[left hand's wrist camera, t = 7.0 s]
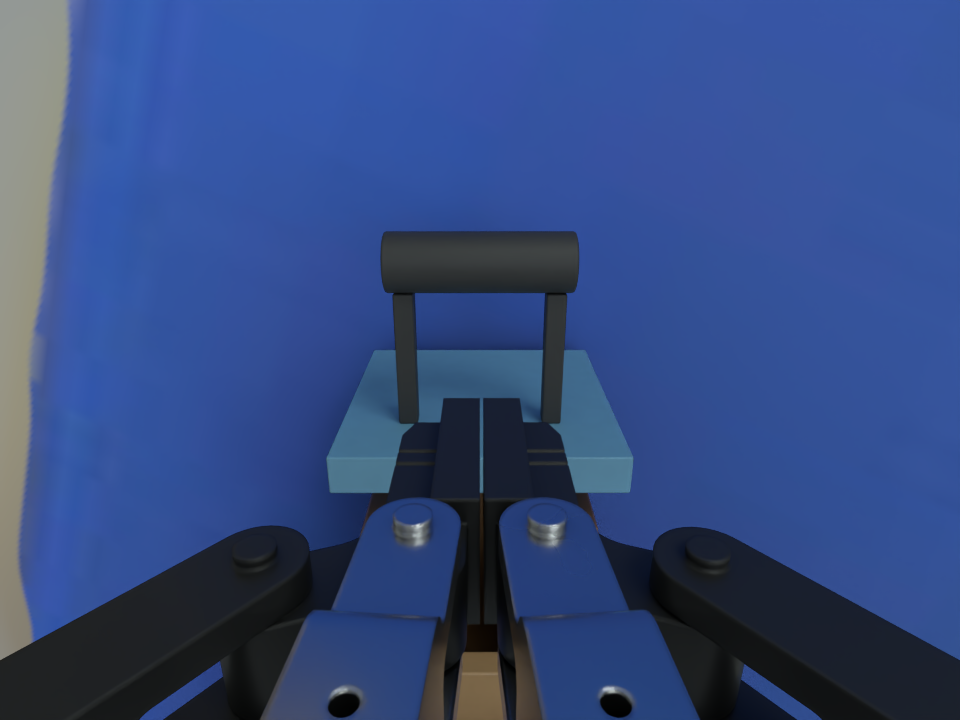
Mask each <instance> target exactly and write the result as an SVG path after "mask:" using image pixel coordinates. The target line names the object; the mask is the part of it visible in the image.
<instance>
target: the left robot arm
mask: <svg viewBox="0 0 960 720" xmlns="http://www.w3.org/2000/svg"><path fill="white" fill-rule="evenodd" d="M483 549H484V624H497V636H498V655H497V671H498V679H499V687H500V695H501V703H502V711H503V720H797V719H795V718H794V717H792V716H791V715H790V714H788V713H787V712H785V711H784V710H783V709H781V708H780V707H778V706H777V705H776V704H774V703H773V702H771V701H770V700H769V699H767V698H766V697H764V696H763V695H762V694H760V693H759V692H758V691H756V690H755V689H753V688H752V687H751V686H749V685H748V684H746V683H745V682H744V681H742V680H741V677H742V672H743V667H744V664H745V665H747V666H748V667H750V668H751V669H753V670H754V671H756V672H757V673H758V674H760V675H761V676H763V677H764V678H766V679H767V680H768V681H770V682H771V683H773V684H774V685H776V686H777V687H779V688H780V689H781V690H783V691H784V692H786V693H787V694H789V695H790V696H792V697H793V698H794V699H796V700H797V701H799V702H800V703H802V704H803V705H805V706H806V707H807V708H809V709H810V710H812V711H813V712H814V713H816V714H817V715H818V716H819V717H820V718H821V719H822V720H960V660H958V659H956V658H955V657H953V656H951V655H949V654H947V653H945V652H944V651H942V650H940V649H938V648H936V647H934V646H932V645H931V644H929V643H927V642H925V641H923V640H921V639H920V638H918V637H916V636H914V635H912V634H910V633H908V632H907V631H905V630H903V629H901V628H899V627H897V626H896V625H894V624H892V623H890V622H888V621H886V620H884V619H883V618H881V617H879V616H877V615H875V614H873V613H872V612H870V611H868V610H866V609H864V608H862V607H860V606H859V605H857V604H855V603H853V602H851V601H849V600H848V599H846V598H844V597H842V596H840V595H838V594H836V593H835V592H833V591H831V590H829V589H827V588H825V587H824V586H822V585H820V584H818V583H816V582H814V581H812V580H811V579H809V578H807V577H805V576H803V575H801V574H800V573H798V572H796V571H794V570H792V569H790V568H789V567H787V566H785V565H783V564H781V563H779V562H777V561H776V560H774V559H772V558H770V557H768V556H766V555H765V554H763V553H761V552H759V551H757V550H755V549H753V548H752V547H750V546H748V545H746V544H744V543H742V542H741V541H739V540H737V539H735V538H733V537H731V536H729V535H727V534H724V533H721V532H718V531H715V530H711V529H706V528H700V527H682V528H676V529H672V530H669V531H667V532H665V533H663V534H662V535H661V536H659V537H658V539H657V540H656V541H655V544H654V547H653V551H652V550H647V549H643V548H638V547H634V546H629V545H625V544H621V543H618V542H615V541H613V540H610V539H608V538H606V537H604V536H602V535H601V534H599V533H598V532H597V529H596V527H595V524H594V522H593V520H592V518H591V517H590V516H589V514H588V513H587V512H586V511H584V510H583V509H582V508H580V507H579V504H578V500H577V496H576V492H575V488H574V484H573V480H572V477H571V473H570V469H569V465H568V461H567V457H566V453H565V449H564V445H563V441H562V437H561V435H560V434H559V433H558V432H557V431H556V430H555V429H554V428H553V427H552V426H551V425H549V424H548V423H547V422H523V417H522V410H521V403H520V398H483ZM467 624H480V398H443V405H442V413H441V420H440V422H416V423H415V424H414V425H413V426H412V427H411V428H410V429H408V430H407V431H406V432H405V433H404V434H403V435H402V439H401V443H400V447H399V453H398V455H397V459H396V466H395V467H394V472H393V476H392V480H391V484H390V488H389V492H388V496H387V500H386V504H385V505H383V506H382V507H380V508H378V509H377V510H376V511H374V512H373V513H372V514H371V516H370V517H369V518H368V520H367V522H366V524H365V527H364V529H363V532H362V534H361V537H359V538H357V539H355V540H352V541H350V542H347V543H344V544H340V545H336V546H332V547H327V548H323V549H318V550H313V551H309V544H308V542H307V540H306V538H305V537H304V536H303V535H302V534H301V533H299V532H298V531H296V530H294V529H291V528H288V527H282V526H260V527H255V528H250V529H247V530H243V531H240V532H238V533H235V534H233V535H231V536H229V537H227V538H225V539H223V540H221V541H219V542H218V543H216V544H214V545H212V546H210V547H208V548H207V549H205V550H203V551H201V552H199V553H197V554H196V555H194V556H192V557H190V558H188V559H186V560H184V561H183V562H181V563H179V564H177V565H175V566H173V567H172V568H170V569H168V570H166V571H164V572H162V573H160V574H159V575H157V576H155V577H153V578H151V579H149V580H148V581H146V582H144V583H142V584H140V585H138V586H136V587H135V588H133V589H131V590H129V591H127V592H125V593H124V594H122V595H120V596H118V597H116V598H114V599H112V600H111V601H109V602H107V603H105V604H103V605H101V606H100V607H98V608H96V609H94V610H92V611H90V612H88V613H87V614H85V615H83V616H81V617H79V618H77V619H76V620H74V621H72V622H70V623H68V624H66V625H64V626H63V627H61V628H59V629H57V630H55V631H53V632H52V633H50V634H48V635H46V636H44V637H42V638H41V639H39V640H37V641H35V642H33V643H31V644H29V645H28V646H26V647H24V648H22V649H20V650H18V651H17V652H15V653H13V654H11V655H9V656H7V657H5V658H4V659H2V660H0V720H139V719H140V718H141V717H142V716H143V715H144V714H145V713H146V712H147V711H149V710H150V709H151V708H153V707H154V706H156V705H157V704H158V703H160V702H161V701H163V700H164V699H166V698H167V697H168V696H170V695H171V694H173V693H174V692H176V691H177V690H179V689H180V688H181V687H183V686H184V685H186V684H187V683H189V682H190V681H192V680H193V679H194V678H196V677H197V676H199V675H200V674H202V673H203V672H204V671H206V670H207V669H209V668H210V667H212V666H213V665H215V664H216V663H217V662H219V661H220V663H221V668H222V673H223V677H222V678H221V679H219V680H218V681H216V682H215V683H214V684H212V685H211V686H209V687H208V688H207V689H205V690H204V691H202V692H201V693H200V694H198V695H197V696H196V697H194V698H193V699H191V700H190V701H189V702H187V703H186V704H184V705H183V706H182V707H180V708H179V709H177V710H176V711H175V712H173V713H172V714H170V715H169V716H168V717H166V718H165V719H163V720H457V711H458V703H459V695H460V687H461V679H462V671H463V653H464V650H465V648H466V642H467Z"/></svg>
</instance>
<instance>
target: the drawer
mask: <svg viewBox="0 0 960 720" xmlns="http://www.w3.org/2000/svg"><path fill="white" fill-rule="evenodd" d="M578 274H579V243H578V237H577V234H576V232H574V231H386V232H384V234H383V236H382V241H381V276H382V283H383V287H384V290H385V292H387V293H394V294H393V315H394V334H395V350H374V352H373V354H372V357H371V359H370V361H369V363H368V366H367V368H366V370H365V372H364V375H363V377H362V379H361V381H360V384H359V386H358V388H357V390H356V393H355V395H354V397H353V399H352V402H351V404H350V406H349V408H348V411H347V413H346V415H345V417H344V420H343V422H342V424H341V426H340V429H339V431H338V433H337V435H336V438H335V440H334V442H333V444H332V447H331V449H330V451H329V453H328V456H327V458H326V461H327V470H328V480H329V490H330V493H372V495H371V499H370V502H369V506H368V510H367V513H366V517H365V520H364V524H363V527H362V532H363V529H364V527H365V524H366V522H367V520H368V518H369V517H370V516H371V514H372V513H373V512H374V511H376V510H377V509H378V508H380V507H382V506H383V505H385V504H386V500H387V496H388V492H389V488H390V484H391V480H392V476H393V472H394V467H395V466H396V459H397V455H398V453H399V447H400V443H401V439H402V435H403V434H404V433H405V432H406V431H407V430H408V429H410V428H411V427H412V426H413V425H414V424H415V423H416V422H440V420H441V413H442V405H443V398H480V624H467V642H466V648H465V650H464V652H498V636H497V624H484V549H483V398H520V403H521V410H522V417H523V422H547V423H548V424H549V425H551V426H552V427H553V428H554V429H555V430H556V431H557V432H558V433H559V434H560V435H561V437H562V441H563V445H564V449H565V453H566V457H567V461H568V465H569V469H570V473H571V477H572V480H573V484H574V488H575V492H576V496H577V500H578V504H579V507H580V508H582V509H583V510H584V511H586V512H587V513H588V514H589V516H590V517H591V518H592V520H593V522H594V524H595V527H596V529H597V532H598V527H597V524H596V520H595V517H594V513H593V510H592V506H591V503H590V499H589V496H588V493H629V492H630V488H631V478H632V469H633V459H634V458H633V456H632V454H631V451H630V449H629V447H628V445H627V442H626V440H625V438H624V436H623V434H622V431H621V429H620V427H619V425H618V422H617V420H616V418H615V416H614V414H613V411H612V409H611V407H610V405H609V402H608V400H607V398H606V396H605V394H604V391H603V389H602V387H601V385H600V382H599V380H598V378H597V376H596V374H595V371H594V369H593V367H592V365H591V362H590V360H589V358H588V356H587V354H586V351H585V350H564V347H565V328H566V309H567V294H566V293H573V292H574V291H575V289H576V287H577V282H578ZM415 293H545V307H544V332H543V350H417V339H416V313H415Z"/></svg>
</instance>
